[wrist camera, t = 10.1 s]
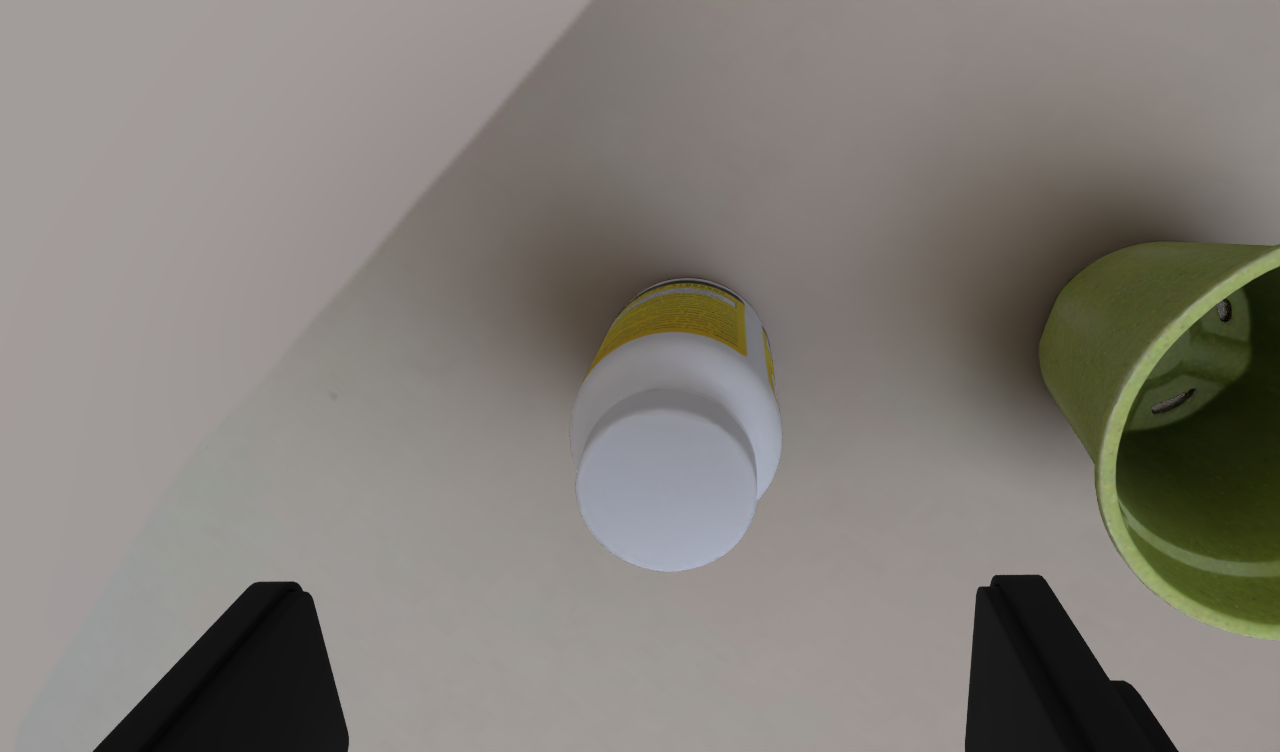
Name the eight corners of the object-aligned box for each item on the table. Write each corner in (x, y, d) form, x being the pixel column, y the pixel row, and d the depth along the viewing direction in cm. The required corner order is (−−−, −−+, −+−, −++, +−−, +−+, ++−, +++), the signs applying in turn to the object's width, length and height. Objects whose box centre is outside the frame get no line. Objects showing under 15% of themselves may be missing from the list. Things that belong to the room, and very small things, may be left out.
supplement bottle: (574, 337, 26) (492, 462, 17) (706, 241, 25) (694, 322, 16) (670, 459, 28) (641, 638, 18) (802, 374, 26) (843, 522, 17)
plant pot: (925, 296, 25) (1022, 391, 17) (1228, 114, 22) (1518, 120, 14) (1062, 521, 27) (1211, 704, 19) (1355, 376, 24) (1676, 515, 16)
